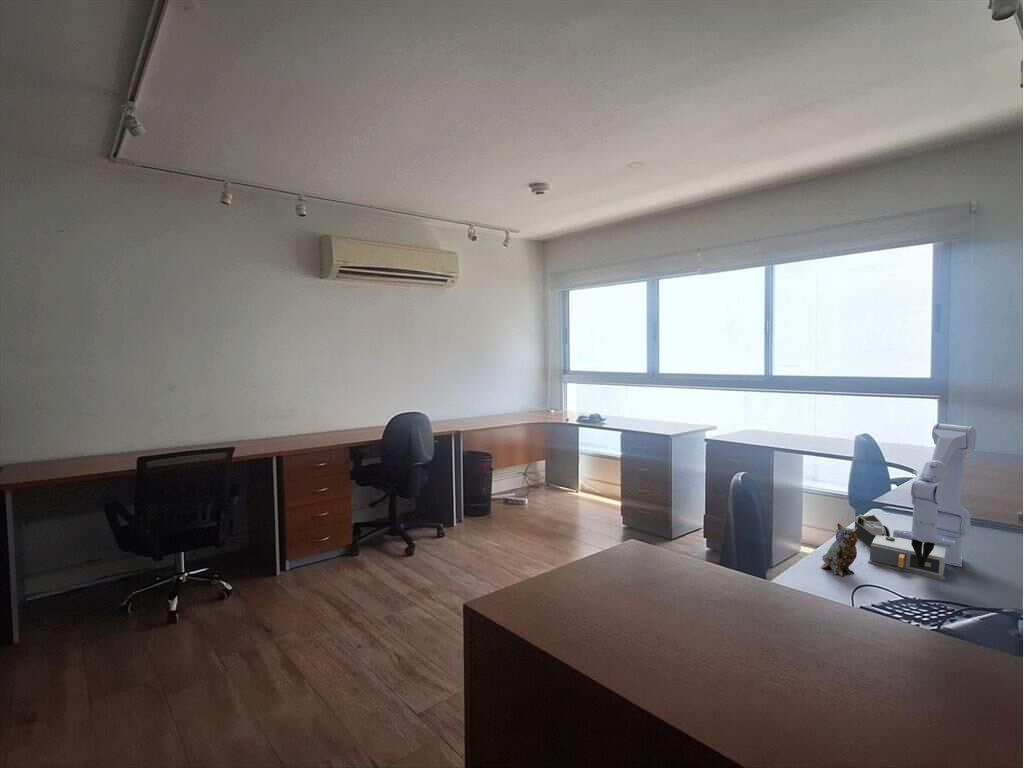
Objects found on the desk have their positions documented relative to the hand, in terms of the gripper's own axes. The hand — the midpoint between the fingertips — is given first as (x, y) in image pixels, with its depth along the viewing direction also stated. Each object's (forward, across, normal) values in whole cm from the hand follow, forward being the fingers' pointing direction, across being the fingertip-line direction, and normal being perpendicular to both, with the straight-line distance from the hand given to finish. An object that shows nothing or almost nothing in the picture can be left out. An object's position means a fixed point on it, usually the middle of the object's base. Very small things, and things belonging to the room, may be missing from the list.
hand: (921, 566), depth 161 cm
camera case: (+3, -4, +8) cm, 9 cm away
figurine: (+3, -19, -12) cm, 23 cm away
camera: (+4, -14, +22) cm, 26 cm away
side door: (+2, -9, +1) cm, 9 cm away
